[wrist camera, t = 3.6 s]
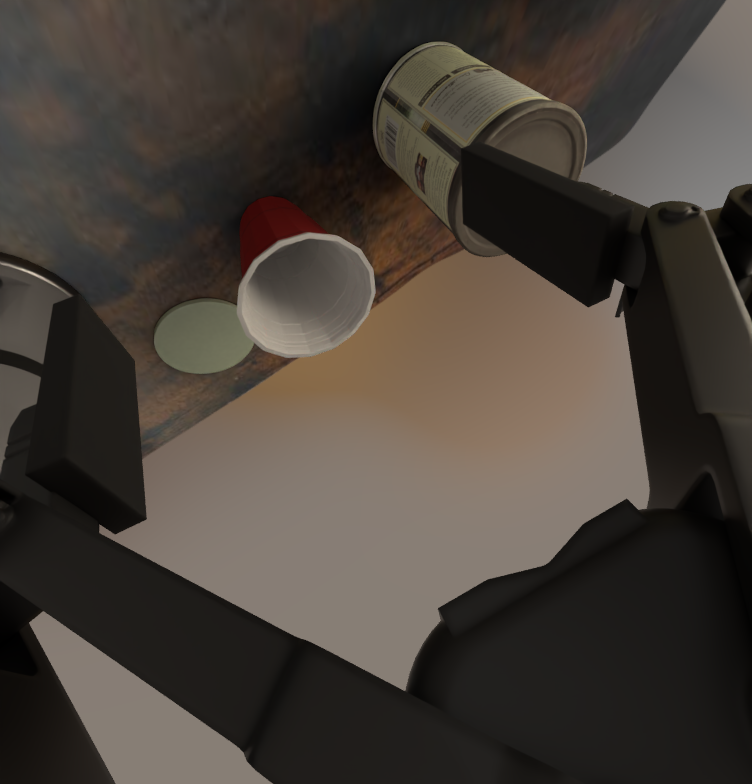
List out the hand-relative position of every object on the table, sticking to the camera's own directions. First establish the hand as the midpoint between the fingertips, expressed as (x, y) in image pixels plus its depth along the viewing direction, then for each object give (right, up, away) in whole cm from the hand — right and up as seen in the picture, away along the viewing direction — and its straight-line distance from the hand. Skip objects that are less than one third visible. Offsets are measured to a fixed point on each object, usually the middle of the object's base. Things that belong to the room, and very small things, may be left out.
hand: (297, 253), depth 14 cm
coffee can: (+7, +19, +23) cm, 31 cm away
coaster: (-15, +1, +31) cm, 34 cm away
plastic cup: (-7, +11, +24) cm, 28 cm away
